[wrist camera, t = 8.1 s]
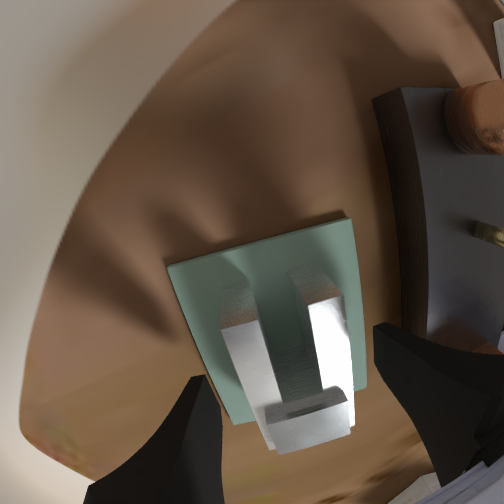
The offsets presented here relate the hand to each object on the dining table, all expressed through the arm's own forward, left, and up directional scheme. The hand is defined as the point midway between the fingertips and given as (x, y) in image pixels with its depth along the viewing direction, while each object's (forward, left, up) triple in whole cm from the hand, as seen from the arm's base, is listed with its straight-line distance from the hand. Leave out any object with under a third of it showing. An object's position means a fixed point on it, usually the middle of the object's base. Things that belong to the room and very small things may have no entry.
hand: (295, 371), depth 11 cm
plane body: (+2, -10, -3) cm, 11 cm away
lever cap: (0, 0, -2) cm, 2 cm away
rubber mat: (0, 0, -3) cm, 3 cm away
